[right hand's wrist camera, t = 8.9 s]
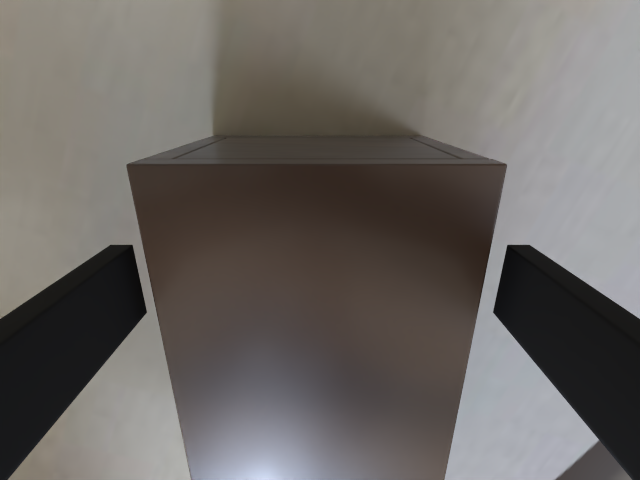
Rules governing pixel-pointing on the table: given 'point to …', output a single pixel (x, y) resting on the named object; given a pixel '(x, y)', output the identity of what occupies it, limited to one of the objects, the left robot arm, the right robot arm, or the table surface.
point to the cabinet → (317, 299)
